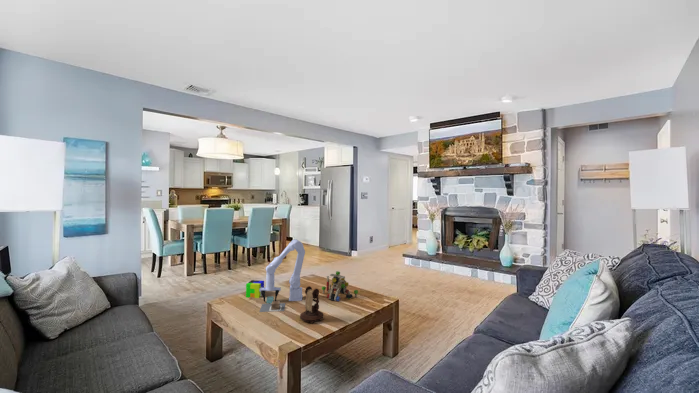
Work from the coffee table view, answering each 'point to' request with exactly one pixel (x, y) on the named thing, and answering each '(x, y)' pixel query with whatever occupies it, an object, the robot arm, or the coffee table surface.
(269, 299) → the teal block
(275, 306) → the walnut block
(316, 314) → the wooden figurine on stand
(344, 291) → the toy construction set
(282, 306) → the grey flat plate
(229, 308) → the coffee table surface
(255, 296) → the puzzle toy
